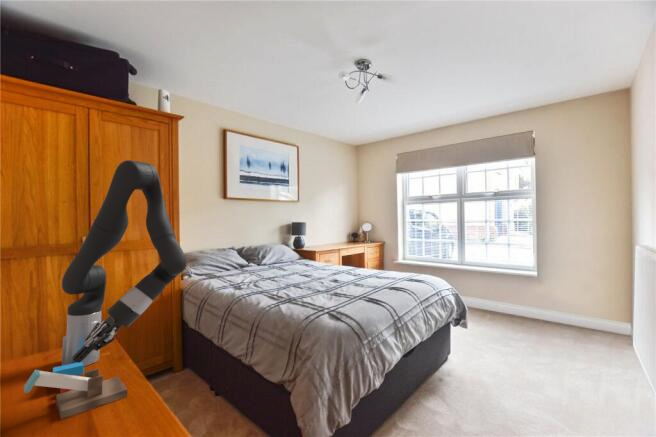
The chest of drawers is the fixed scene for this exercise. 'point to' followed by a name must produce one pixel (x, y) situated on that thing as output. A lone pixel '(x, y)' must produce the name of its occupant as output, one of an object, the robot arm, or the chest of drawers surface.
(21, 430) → the chest of drawers surface
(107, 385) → the catapult stand
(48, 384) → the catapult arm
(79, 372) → the lever
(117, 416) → the chest of drawers surface
